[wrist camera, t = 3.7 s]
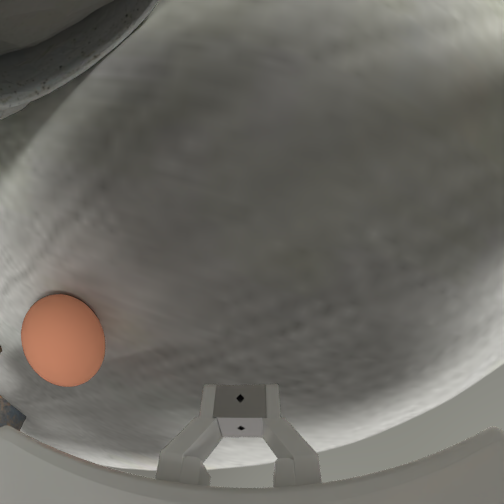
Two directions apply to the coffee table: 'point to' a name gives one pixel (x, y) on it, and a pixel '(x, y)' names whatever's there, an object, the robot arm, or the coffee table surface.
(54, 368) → the ball
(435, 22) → the coffee table surface
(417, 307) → the coffee table surface
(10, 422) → the rusty metal case
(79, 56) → the ceramic mug
